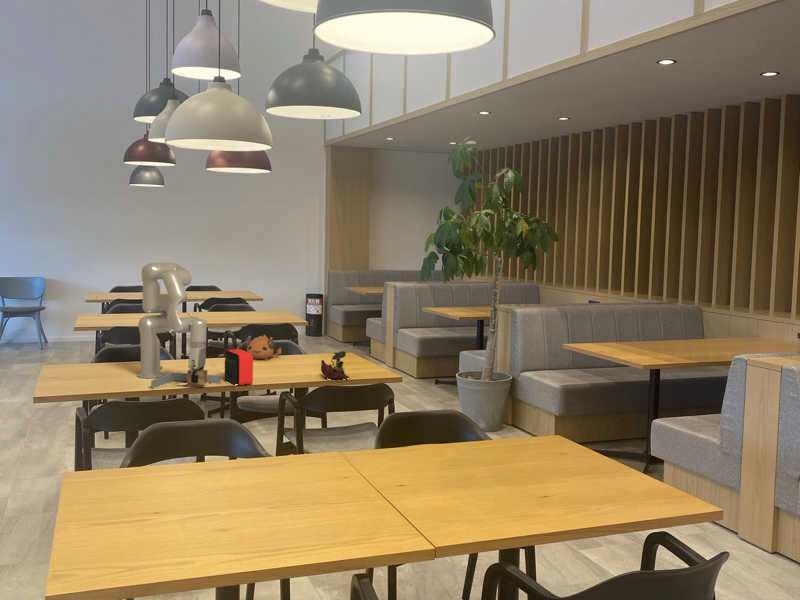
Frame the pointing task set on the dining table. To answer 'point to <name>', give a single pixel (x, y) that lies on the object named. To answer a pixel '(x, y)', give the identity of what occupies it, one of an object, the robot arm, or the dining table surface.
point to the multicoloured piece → (334, 368)
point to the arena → (180, 379)
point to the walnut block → (201, 377)
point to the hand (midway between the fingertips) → (197, 381)
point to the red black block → (238, 367)
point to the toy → (261, 347)
